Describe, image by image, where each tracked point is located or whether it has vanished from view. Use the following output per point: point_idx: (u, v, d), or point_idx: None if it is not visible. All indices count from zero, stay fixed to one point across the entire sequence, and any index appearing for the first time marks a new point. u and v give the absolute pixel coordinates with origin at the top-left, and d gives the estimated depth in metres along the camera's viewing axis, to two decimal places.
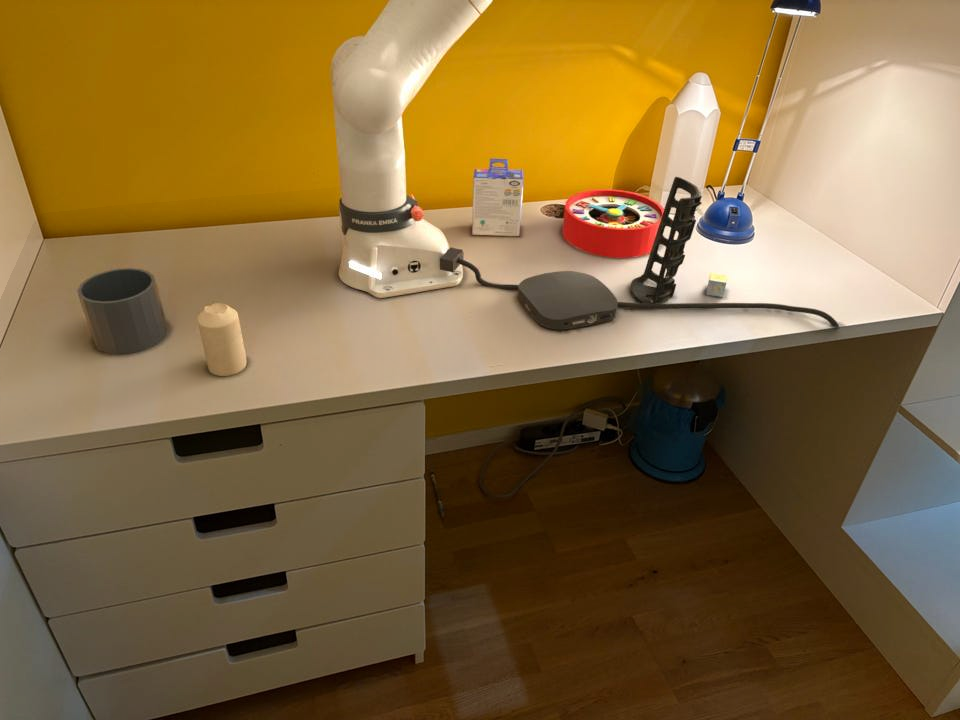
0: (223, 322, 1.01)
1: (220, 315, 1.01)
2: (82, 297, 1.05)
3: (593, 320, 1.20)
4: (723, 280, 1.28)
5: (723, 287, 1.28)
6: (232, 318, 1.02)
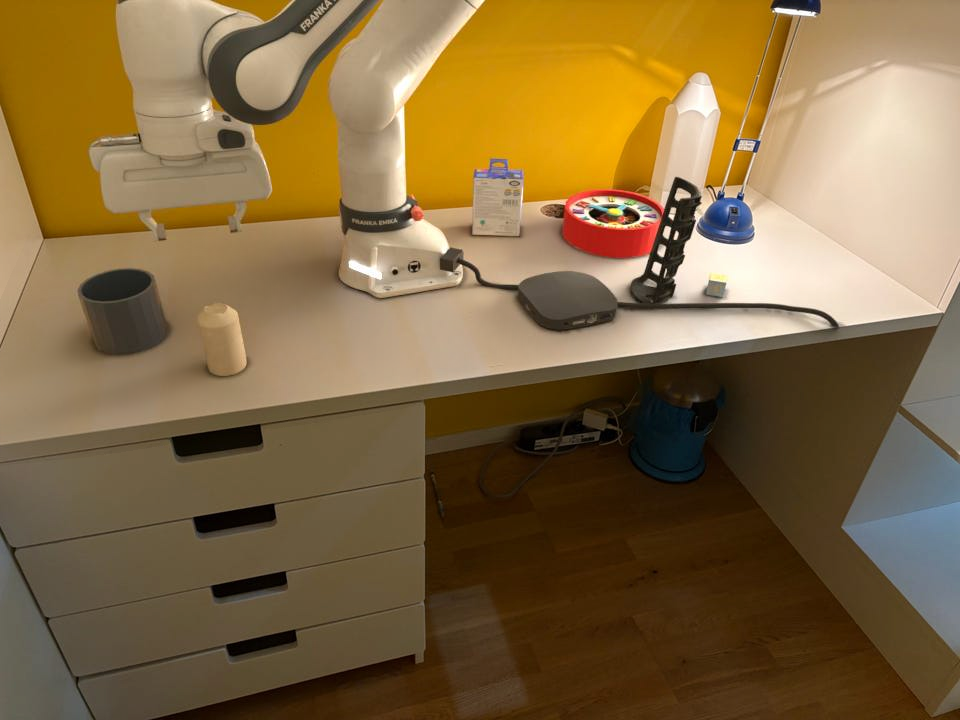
0: (223, 322, 1.01)
1: (220, 315, 1.01)
2: (82, 297, 1.05)
3: (593, 320, 1.20)
4: (723, 280, 1.28)
5: (723, 287, 1.28)
6: (232, 318, 1.02)
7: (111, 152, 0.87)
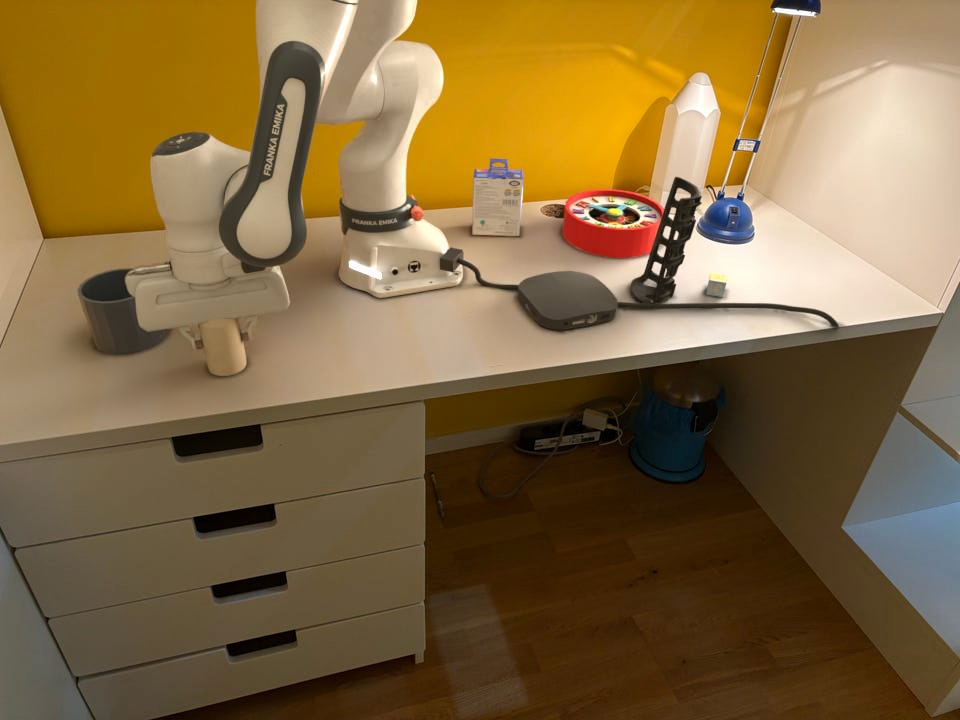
0: (223, 322, 1.01)
1: None
2: (82, 297, 1.05)
3: (593, 320, 1.20)
4: (723, 280, 1.28)
5: (723, 287, 1.28)
6: None
7: (145, 280, 0.96)
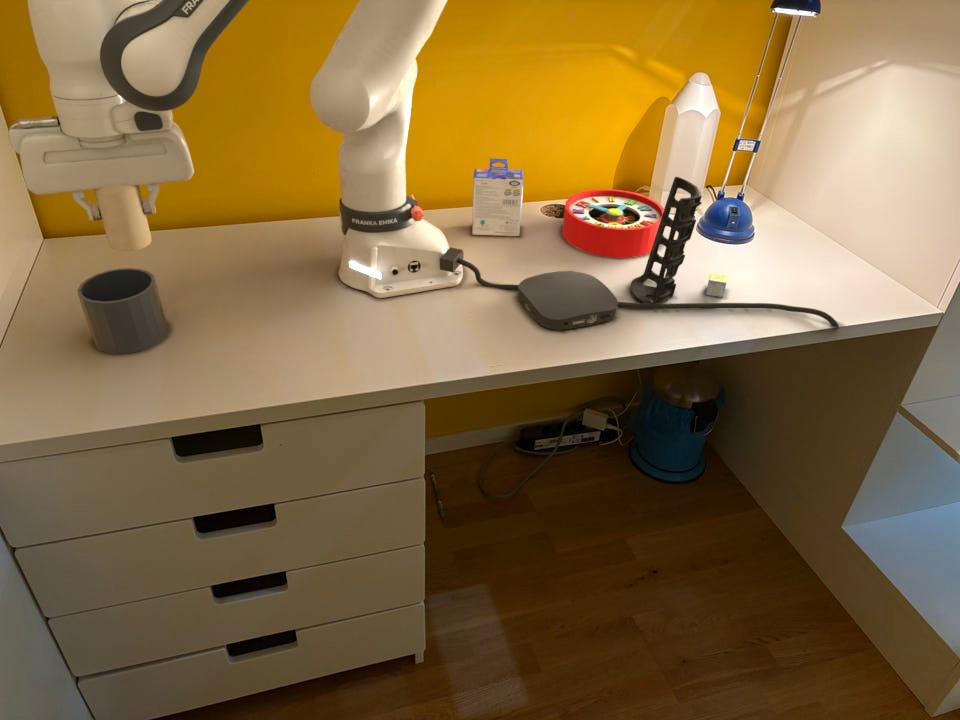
0: (121, 189, 0.95)
1: None
2: (82, 297, 1.05)
3: (593, 320, 1.20)
4: (723, 280, 1.28)
5: (723, 287, 1.28)
6: (131, 186, 0.96)
7: (31, 135, 0.89)
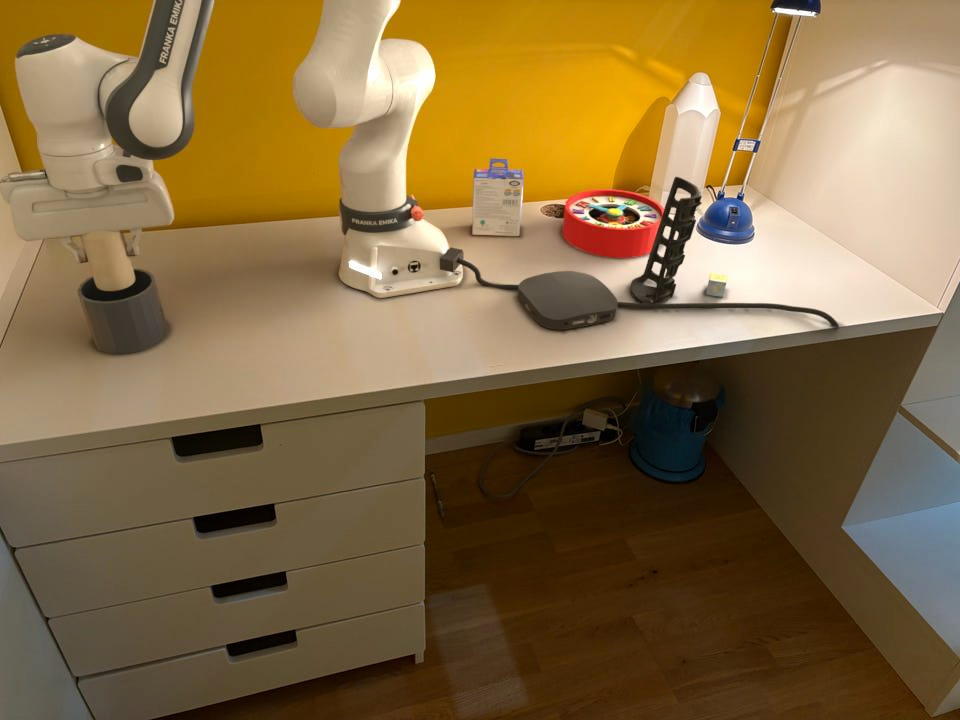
0: (105, 234, 1.02)
1: None
2: (82, 297, 1.05)
3: (593, 320, 1.20)
4: (723, 280, 1.28)
5: (723, 287, 1.28)
6: (114, 231, 1.03)
7: (20, 187, 0.96)
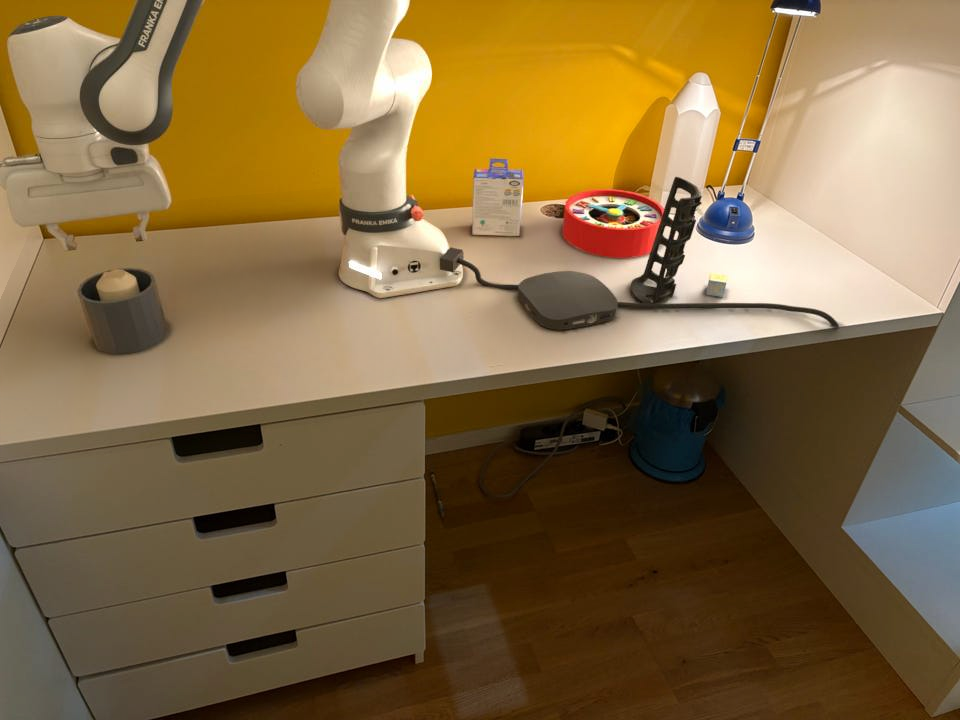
0: (120, 287, 1.07)
1: (117, 280, 1.07)
2: (82, 297, 1.05)
3: (593, 320, 1.20)
4: (723, 280, 1.28)
5: (723, 287, 1.28)
6: (129, 284, 1.08)
7: (16, 172, 0.96)
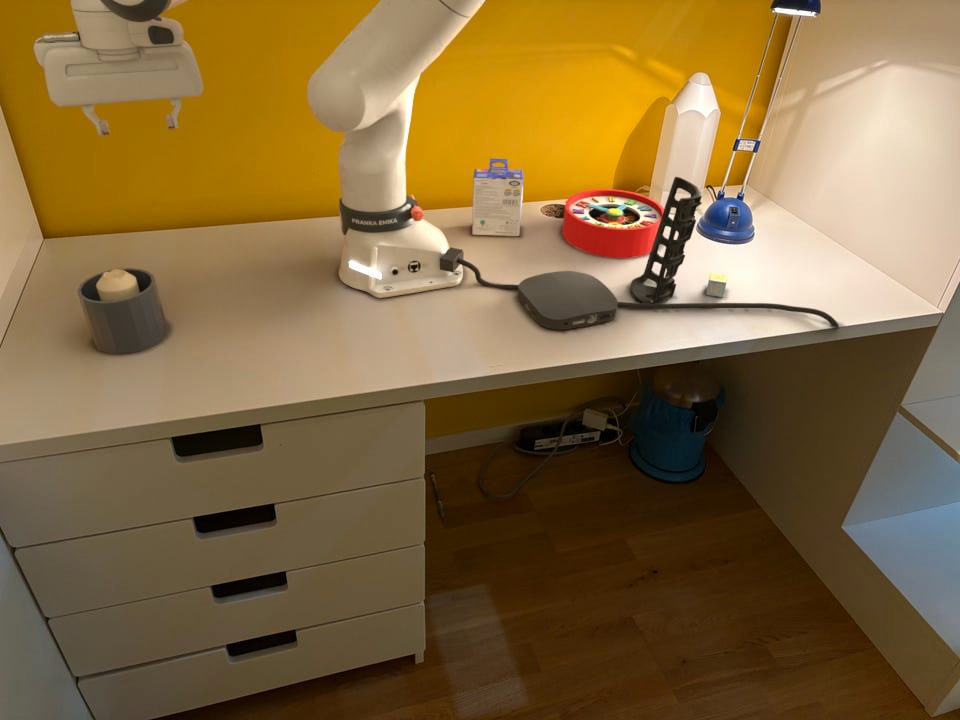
0: (120, 287, 1.07)
1: (117, 280, 1.07)
2: (82, 297, 1.05)
3: (593, 320, 1.20)
4: (723, 280, 1.28)
5: (723, 287, 1.28)
6: (129, 284, 1.08)
7: (54, 48, 0.97)
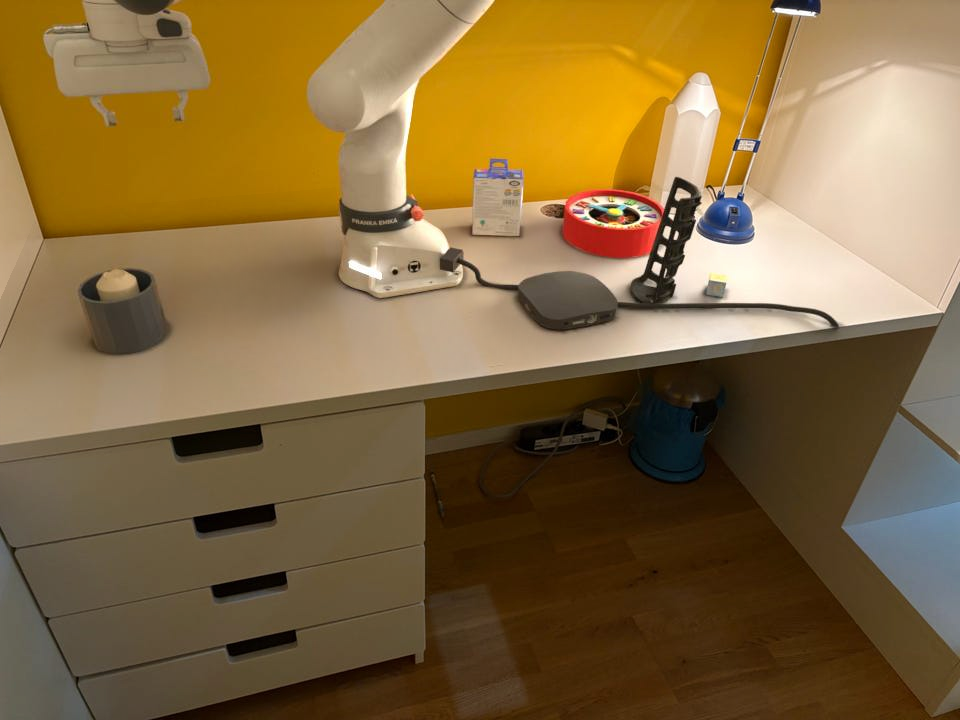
0: (120, 287, 1.07)
1: (117, 280, 1.07)
2: (82, 297, 1.05)
3: (593, 320, 1.20)
4: (723, 280, 1.28)
5: (723, 287, 1.28)
6: (129, 284, 1.08)
7: (63, 39, 0.98)
